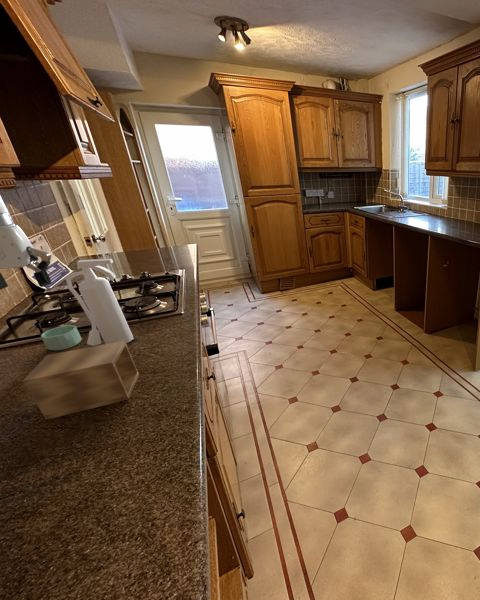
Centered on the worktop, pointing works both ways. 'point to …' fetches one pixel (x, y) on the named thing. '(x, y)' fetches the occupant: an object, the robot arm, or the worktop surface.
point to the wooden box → (82, 379)
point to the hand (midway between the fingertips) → (24, 286)
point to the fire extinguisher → (100, 303)
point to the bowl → (61, 337)
